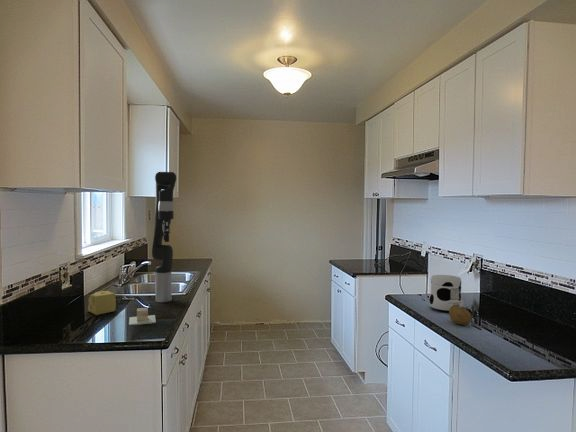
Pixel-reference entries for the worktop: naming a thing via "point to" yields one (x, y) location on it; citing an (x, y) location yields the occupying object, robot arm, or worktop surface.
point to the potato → (460, 315)
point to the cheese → (102, 302)
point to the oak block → (142, 314)
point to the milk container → (445, 292)
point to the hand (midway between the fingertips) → (166, 241)
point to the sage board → (134, 321)
